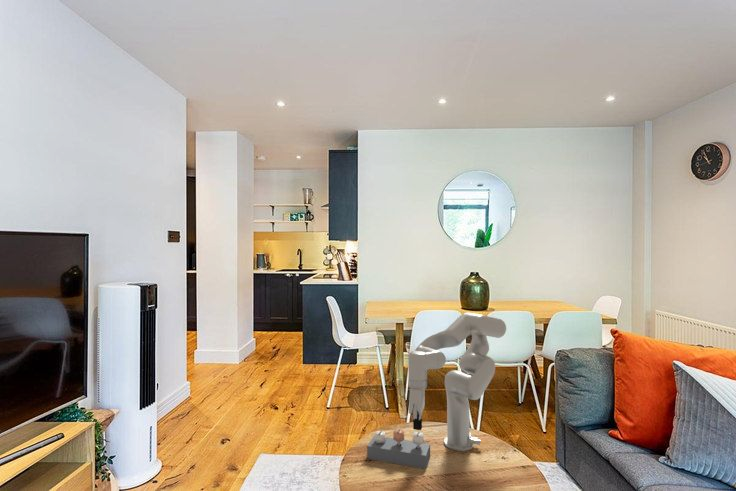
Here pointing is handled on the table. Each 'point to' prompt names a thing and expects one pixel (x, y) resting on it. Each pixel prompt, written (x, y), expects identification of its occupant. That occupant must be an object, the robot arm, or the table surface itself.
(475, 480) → the table surface
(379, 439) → the knob far
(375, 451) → the control rail
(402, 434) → the knob middle
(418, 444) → the knob near
